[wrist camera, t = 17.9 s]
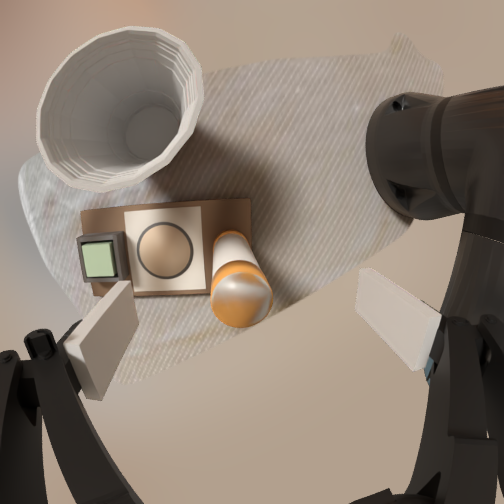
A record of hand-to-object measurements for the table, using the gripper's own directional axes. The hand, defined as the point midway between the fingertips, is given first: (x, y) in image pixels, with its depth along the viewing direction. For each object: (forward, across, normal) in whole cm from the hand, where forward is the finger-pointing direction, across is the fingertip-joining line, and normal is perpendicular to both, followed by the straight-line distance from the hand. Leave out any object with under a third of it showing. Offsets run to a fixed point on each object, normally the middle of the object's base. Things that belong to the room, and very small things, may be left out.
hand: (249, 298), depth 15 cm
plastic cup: (+13, +8, -12) cm, 19 cm away
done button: (+11, +13, 0) cm, 17 cm away
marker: (+12, +1, 0) cm, 12 cm away
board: (+12, +7, 0) cm, 14 cm away
